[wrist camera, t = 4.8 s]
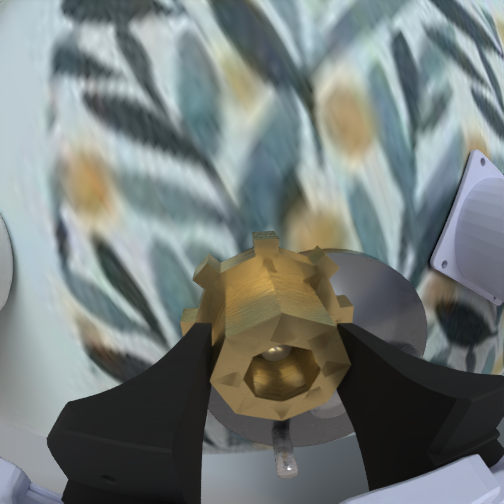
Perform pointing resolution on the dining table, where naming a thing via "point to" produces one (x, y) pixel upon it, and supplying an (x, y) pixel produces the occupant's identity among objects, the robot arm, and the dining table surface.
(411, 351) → the carrier
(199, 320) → the planet gear
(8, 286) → the alcohol
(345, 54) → the dining table surface
